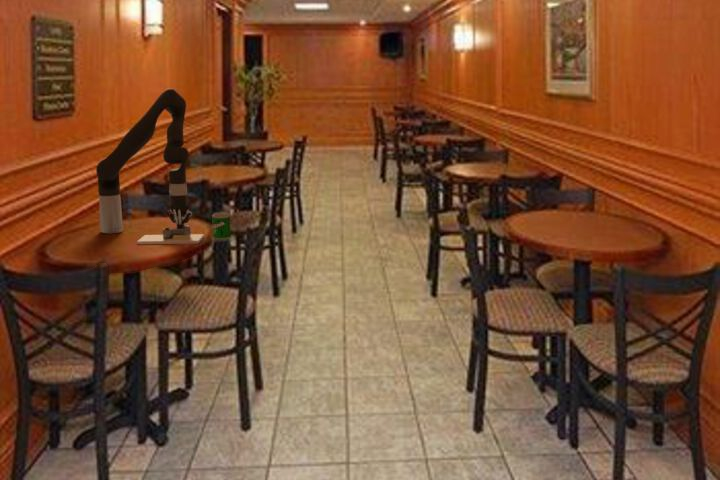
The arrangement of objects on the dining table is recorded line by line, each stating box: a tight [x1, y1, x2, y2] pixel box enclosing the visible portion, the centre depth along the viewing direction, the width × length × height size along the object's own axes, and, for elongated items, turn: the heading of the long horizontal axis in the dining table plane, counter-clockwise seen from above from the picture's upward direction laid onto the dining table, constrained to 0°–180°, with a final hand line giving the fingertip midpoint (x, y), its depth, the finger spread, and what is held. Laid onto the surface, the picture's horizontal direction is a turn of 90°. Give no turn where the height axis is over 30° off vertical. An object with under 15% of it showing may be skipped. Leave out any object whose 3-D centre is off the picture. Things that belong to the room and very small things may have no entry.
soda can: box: [211, 211, 232, 242], centre depth 330 cm, size 8×8×12 cm
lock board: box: [136, 233, 205, 245], centre depth 331 cm, size 26×13×3 cm, turn 91°
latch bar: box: [162, 224, 192, 239], centre depth 331 cm, size 12×4×4 cm, turn 117°
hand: (180, 232), depth 335 cm, fingers closed
